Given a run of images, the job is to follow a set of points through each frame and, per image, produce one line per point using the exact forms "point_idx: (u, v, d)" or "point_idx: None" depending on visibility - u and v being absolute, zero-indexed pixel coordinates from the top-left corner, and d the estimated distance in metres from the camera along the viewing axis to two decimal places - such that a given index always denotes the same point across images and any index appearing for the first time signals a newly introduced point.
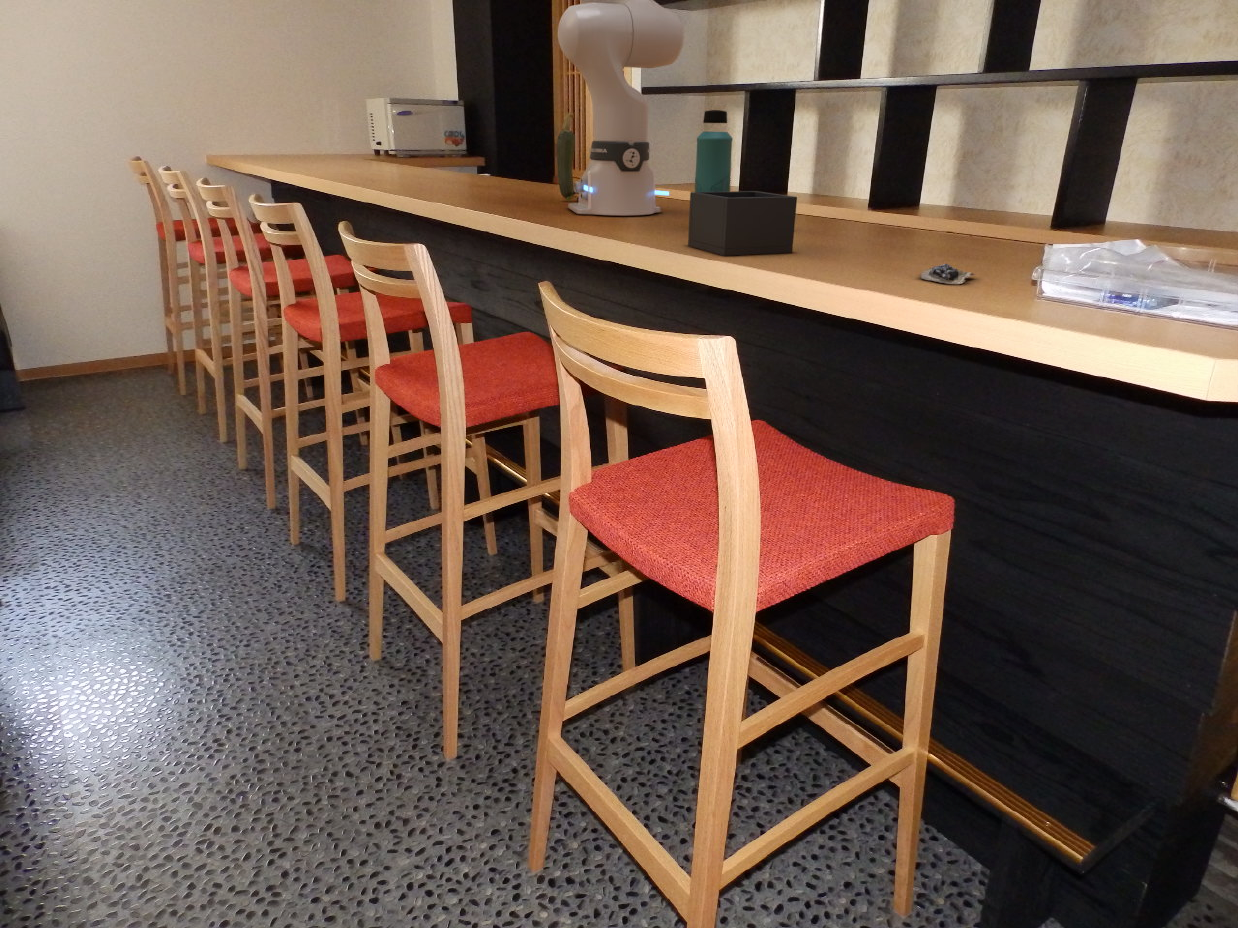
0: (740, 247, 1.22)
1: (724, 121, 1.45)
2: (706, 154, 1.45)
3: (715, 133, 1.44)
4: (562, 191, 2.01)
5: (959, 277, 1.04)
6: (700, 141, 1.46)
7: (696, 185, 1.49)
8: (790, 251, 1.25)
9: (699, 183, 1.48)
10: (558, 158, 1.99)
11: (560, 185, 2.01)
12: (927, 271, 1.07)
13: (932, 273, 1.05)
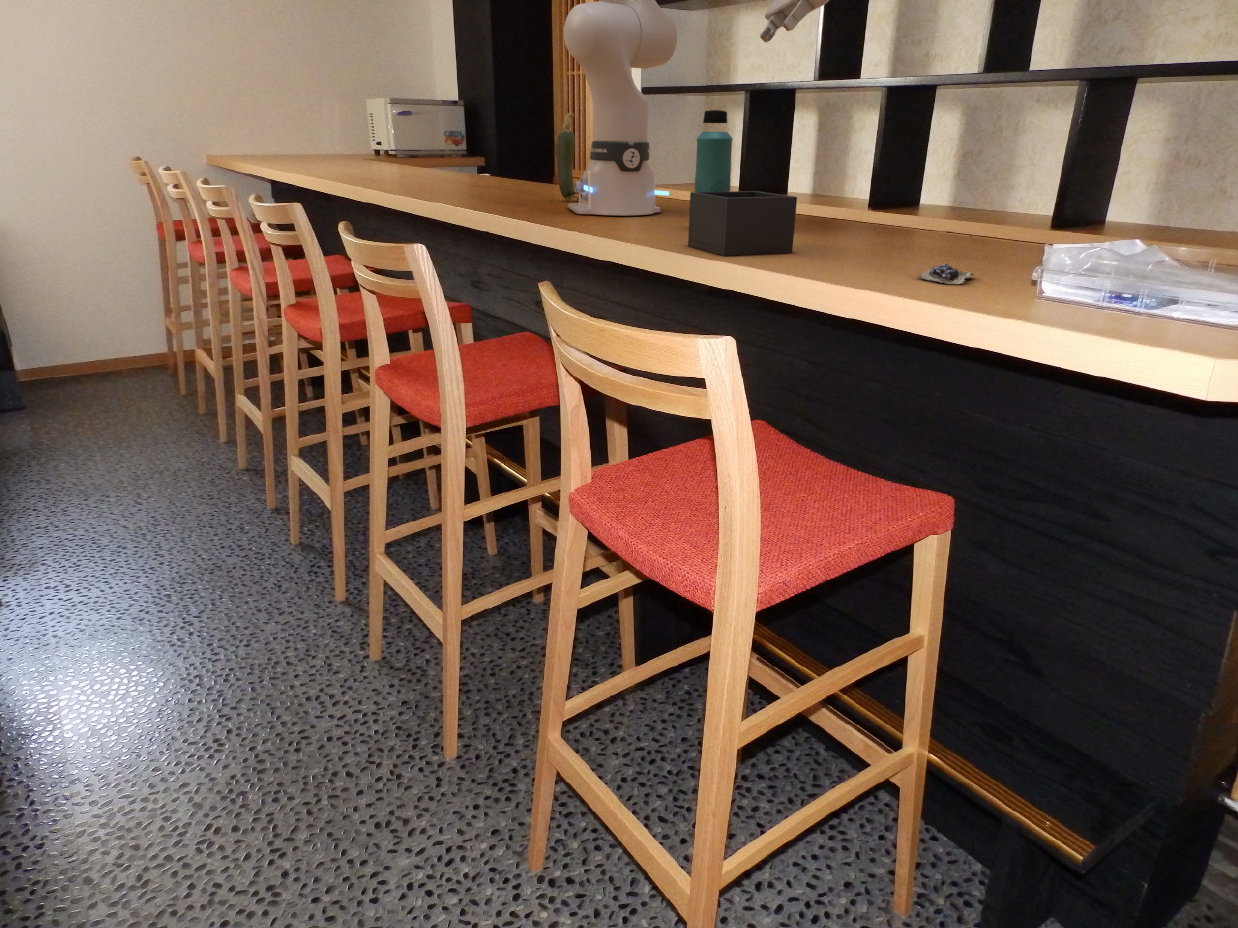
0: (740, 247, 1.22)
1: (724, 121, 1.45)
2: (706, 154, 1.45)
3: (715, 133, 1.44)
4: (562, 191, 2.01)
5: (959, 277, 1.04)
6: (700, 141, 1.46)
7: (696, 185, 1.49)
8: (790, 251, 1.25)
9: (699, 183, 1.48)
10: (558, 158, 1.99)
11: (560, 185, 2.01)
12: (927, 271, 1.07)
13: (932, 273, 1.05)
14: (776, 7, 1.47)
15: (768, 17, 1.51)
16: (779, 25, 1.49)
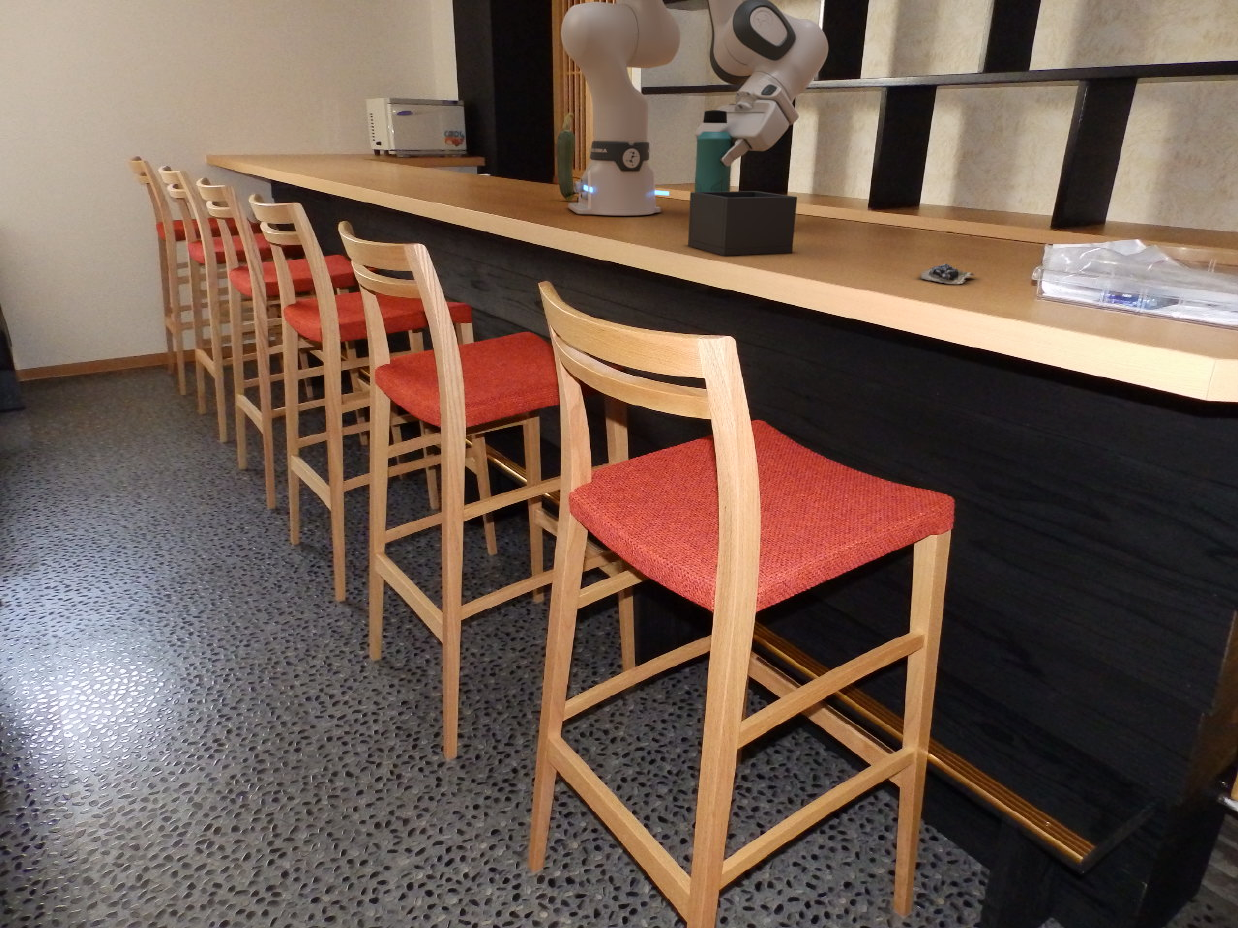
0: (740, 247, 1.22)
1: (724, 121, 1.45)
2: (706, 154, 1.45)
3: (715, 133, 1.44)
4: (562, 191, 2.01)
5: (959, 277, 1.04)
6: (700, 141, 1.46)
7: (696, 185, 1.49)
8: (790, 251, 1.25)
9: (699, 183, 1.48)
10: (558, 158, 1.99)
11: (560, 185, 2.01)
12: (927, 271, 1.07)
13: (932, 273, 1.05)
14: None
15: None
16: None
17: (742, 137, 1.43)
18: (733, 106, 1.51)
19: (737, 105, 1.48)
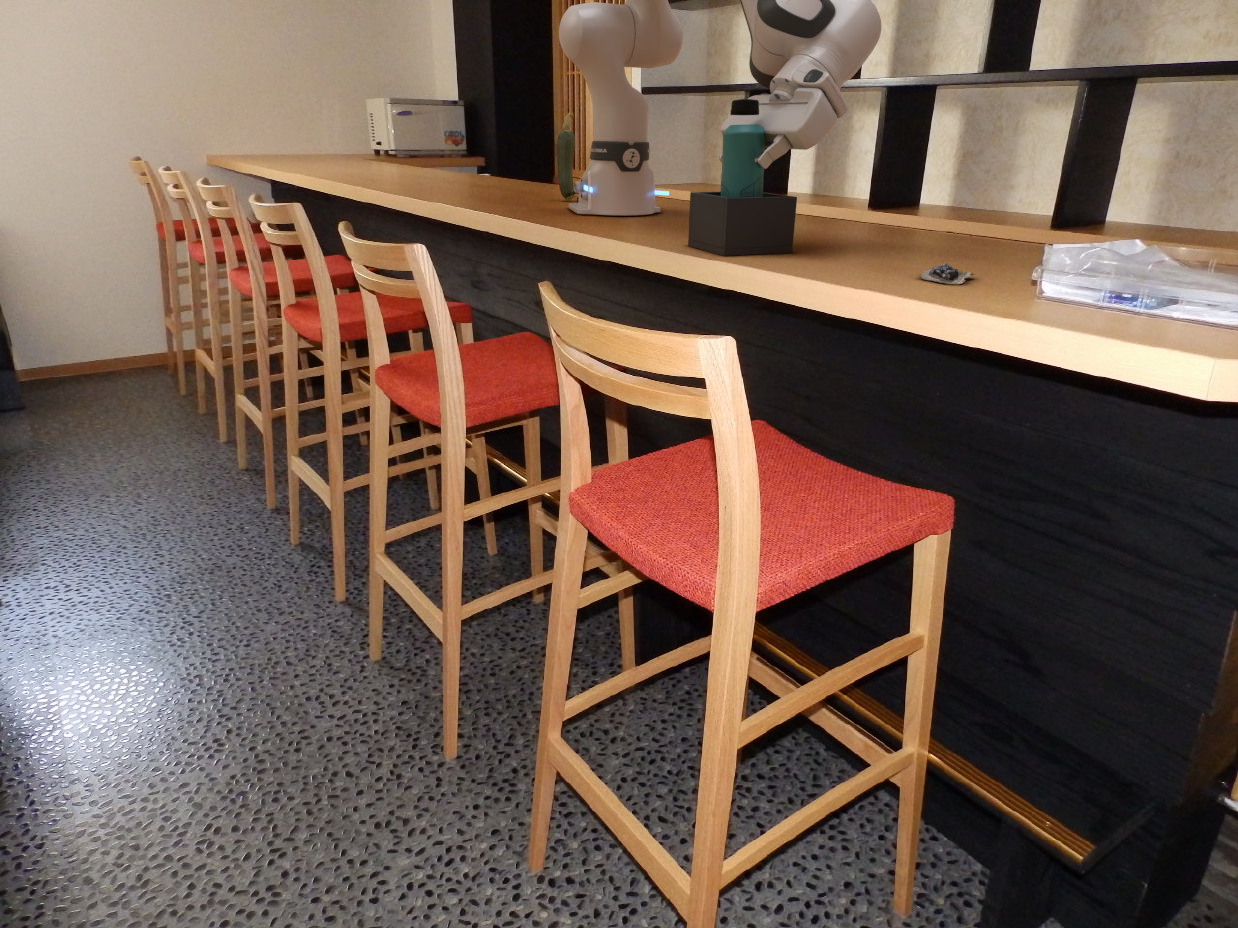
0: (740, 247, 1.22)
1: (756, 112, 1.20)
2: (735, 152, 1.21)
3: (745, 126, 1.20)
4: (562, 191, 2.01)
5: (959, 277, 1.04)
6: (727, 136, 1.21)
7: (722, 189, 1.24)
8: (790, 251, 1.25)
9: (726, 187, 1.24)
10: (558, 158, 1.99)
11: (560, 185, 2.01)
12: (927, 271, 1.07)
13: (932, 273, 1.05)
14: None
15: None
16: None
17: (780, 133, 1.18)
18: (767, 96, 1.26)
19: (773, 95, 1.23)
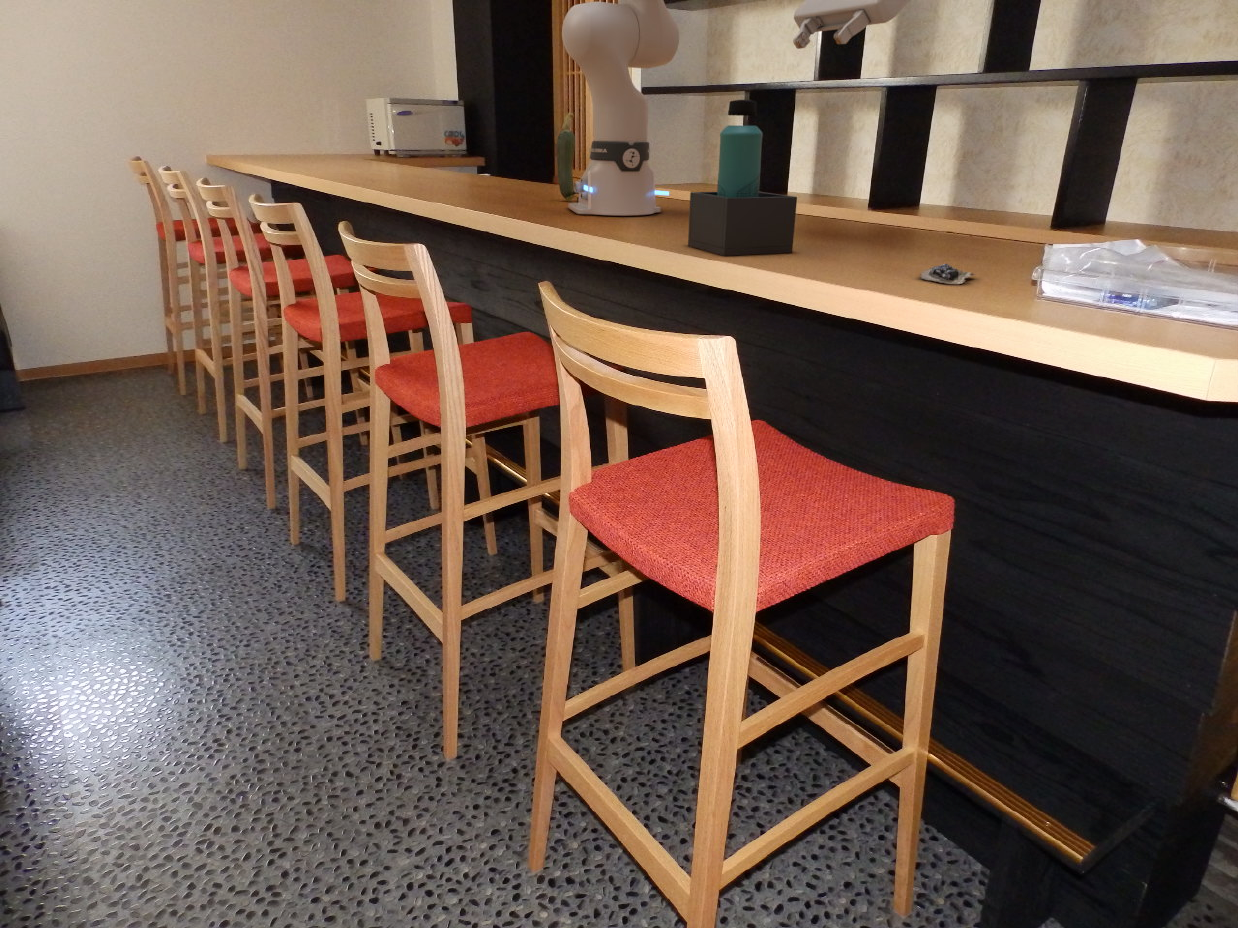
0: (740, 247, 1.22)
1: (753, 113, 1.21)
2: (732, 153, 1.22)
3: (742, 127, 1.21)
4: (562, 191, 2.01)
5: (959, 277, 1.04)
6: (724, 136, 1.22)
7: (719, 189, 1.25)
8: (790, 251, 1.25)
9: (723, 187, 1.24)
10: (558, 158, 1.99)
11: (560, 185, 2.01)
12: (927, 271, 1.07)
13: (932, 273, 1.05)
14: (815, 11, 1.30)
15: (799, 19, 1.34)
16: (813, 31, 1.33)
17: (859, 8, 1.22)
18: None
19: None
